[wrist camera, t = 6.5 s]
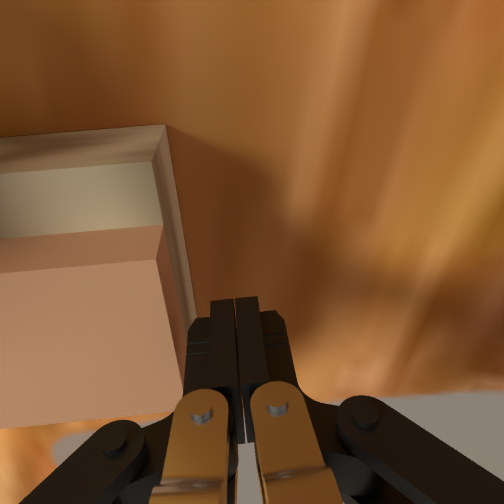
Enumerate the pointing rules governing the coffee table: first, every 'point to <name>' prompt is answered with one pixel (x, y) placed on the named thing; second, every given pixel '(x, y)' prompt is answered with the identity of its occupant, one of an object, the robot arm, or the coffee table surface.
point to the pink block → (88, 327)
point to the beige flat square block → (95, 190)
